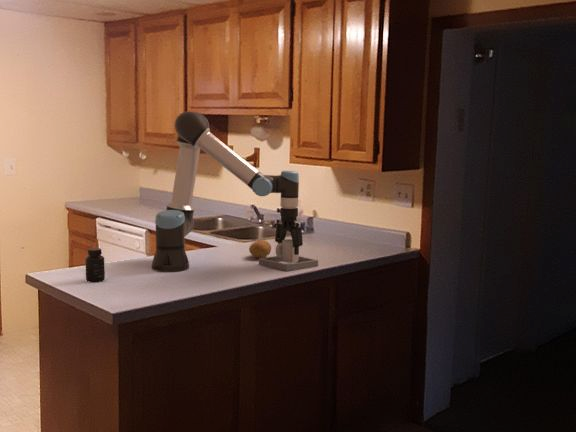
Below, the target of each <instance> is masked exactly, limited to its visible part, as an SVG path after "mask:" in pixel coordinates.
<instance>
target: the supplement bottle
mask: <svg viewBox="0 0 576 432" xmlns="http://www.w3.org/2000/svg"><path fill="white" fill-rule="evenodd" d="M102 253H103V252H102V248H99V247H93V248H88V250H87V256H86V257H85V280H87V281H86V282H88V281H90V282H89V283H100V282H99V281H101V282H103V280H104V281H105V280H106V276H105V275H106V273H105V257H104V256H103V254H102Z"/></svg>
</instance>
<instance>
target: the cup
mask: <svg viewBox="0 0 576 432" xmlns="http://www.w3.org/2000/svg"><path fill="white" fill-rule="evenodd" d="M281 246H282V255H281V254H280V252H279V249H280V247H281ZM292 246H294V245H293V241H292V238H289V239H288V238H285V240H282V243H279V244H278V243H277V245H276V246H275V256H278V257H279V258H282V261H281V262H282V263H283V262H284V263H289V264H293V263H296V262H292ZM299 256H300V253H299V254H298V261H299Z"/></svg>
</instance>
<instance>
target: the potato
mask: <svg viewBox="0 0 576 432" xmlns="http://www.w3.org/2000/svg"><path fill="white" fill-rule="evenodd" d="M248 249H249V251H248V252H249V253H250V255H252V256H253V257H255V258H257V259H260V258H266V257H267V256H269V255H271V254H270V253H271V251H272V245H271V243H269V242H268V241H267V240H265V239H260V240H259V239H258V240H257V241H255V242H253V243H251V244H250V246H249V248H248Z"/></svg>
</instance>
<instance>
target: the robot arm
mask: <svg viewBox="0 0 576 432" xmlns="http://www.w3.org/2000/svg"><path fill="white" fill-rule="evenodd" d="M174 130H175V133H176V134H177V139H176V143H177V144H178V145H179V148H178V157H177V163H176V169H175V174H174V175H175V176H174V183H173V188H172V195H171V201H170V202H169V203H167V204H166V210H161V211H159V212H158V213H156V215H155V220H154V222H155V223H154V224H155V252H154V254H153V258H152V262H151V269H152V270H153V271H156V270H157V272H166V273H167V272H169V273H170V272H182V271H186V270H189V268H190V261H189V258H188V255H187V253H186V249H185V248H186V246H185V243H186V241H185V240H186V238H185V237H186V236H187V235H189V234H190V233H191V232H192V230H193V228H194V225H195V220H194V214H195V213H194V211H195V208H194V206H193V205H192V202H193V196H194V190H195V183H196V177H197V172H198V164H199V158H200V152H201V150H202V151H203V152H204V153H205V154H207V155H208V156H209V157H210V158H212V159H213V160H215V162H217V163H218V164H219V165H220V166H222V167H223V168H225V169H226V170H227V171H229V173H231V174H232V175H233V176H234V177H236V178H237V179H239V180H240V181H241V182H242V183H244V184H245V185H246V186H247V187H248V188H249V189H250V190H252V192H254V194H255V195H256V196H258V197H266V196H268V195H271V194H280V204H279V205H280V214H279V215H280V217H281V218H278V219H276V220H275V221H276V228H275V236H274V237H275V238H274V241H275V242H276V243H277V245H278V244H279V243H282V240H285V239H286V236H287V233H288V232H289V233H290V237H291V239H292V241H293V245H294V246H292V262H295V263H299V262H298V254H299V255H300V247H302V246H303V241H304V240H303V233H302V232H303V230H302V227H303V226H302V225H303V223H302V221H301V222H299V221H298V219H297V218H298V216H299V208H298V207H299V192H300V191H299V190H300V189H299V186H300V181H299V180H300V179H299V177H300V175H299V173H298V171H296V170H282V171H281V172H280V174H278V175H273V174H272V175H271V174H264V173H262V172H260V171H259V170H258V169H256V167H254V166H253V165H252V164H251V163H249V162H248V161H247V160H246V159H244V158H243V157H241V156H240V154H238V153H237V152H235V150H233V149H232V148H230V147H229V146H228V145H227V144H225V143H224V142H223V141H221V140H220V139H219V138H218V137H217V136H215V134H213V133H212V132H211V129H210V124H209V121H208V119H207V118H206V116H205V115H204V114H202V113H201V112H197V111H184V112H181V113H180V114H179V115H178V116H177V117H176V119H175V121H174ZM279 252H280V254H281V255H282V246H281V247H280V249H279ZM279 259H282V258H279Z"/></svg>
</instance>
